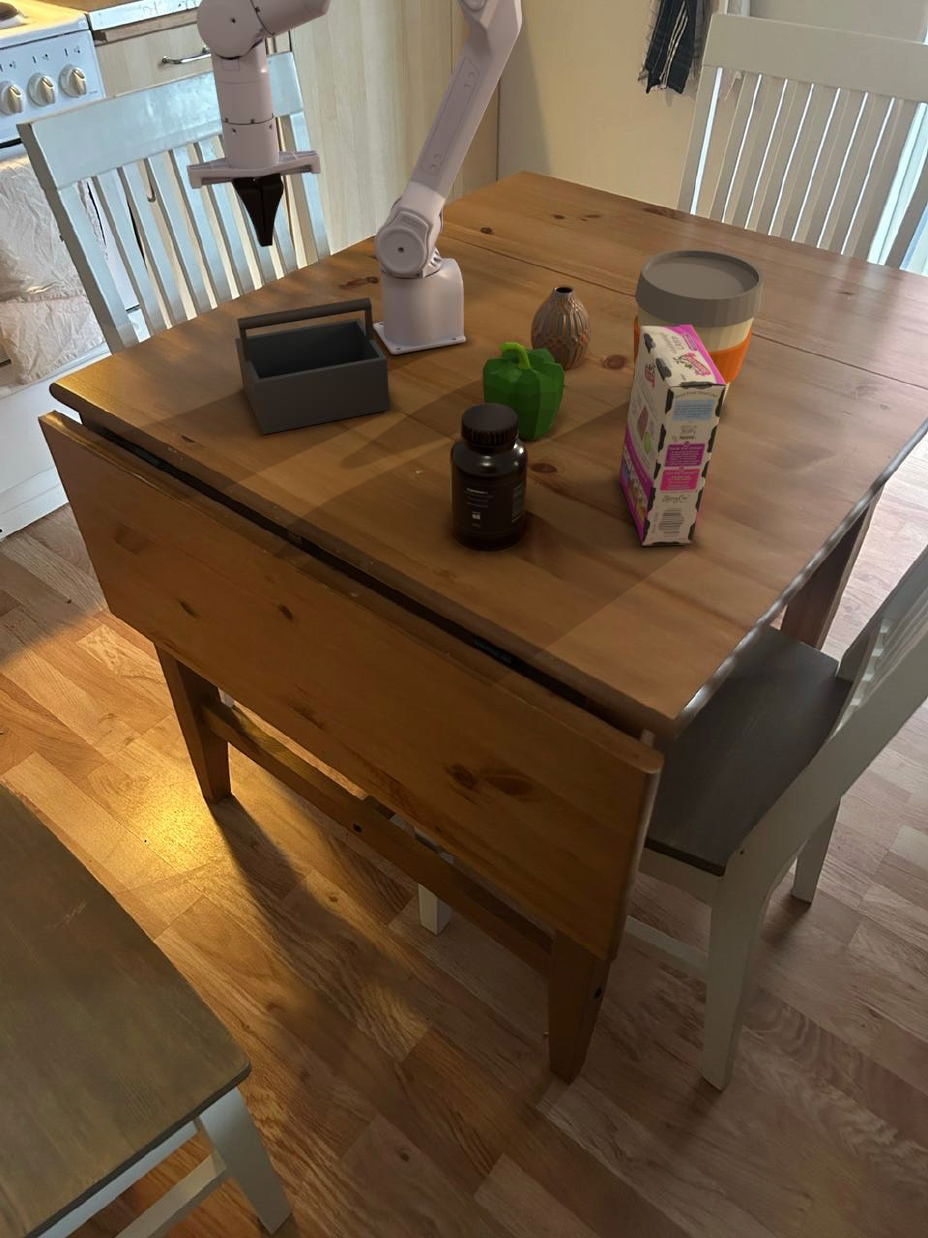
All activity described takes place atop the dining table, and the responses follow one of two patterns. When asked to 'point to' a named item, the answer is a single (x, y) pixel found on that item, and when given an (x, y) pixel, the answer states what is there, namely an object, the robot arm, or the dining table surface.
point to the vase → (562, 327)
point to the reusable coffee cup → (702, 301)
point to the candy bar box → (669, 433)
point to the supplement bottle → (488, 478)
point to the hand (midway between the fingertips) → (265, 243)
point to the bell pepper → (525, 387)
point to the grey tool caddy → (312, 367)
